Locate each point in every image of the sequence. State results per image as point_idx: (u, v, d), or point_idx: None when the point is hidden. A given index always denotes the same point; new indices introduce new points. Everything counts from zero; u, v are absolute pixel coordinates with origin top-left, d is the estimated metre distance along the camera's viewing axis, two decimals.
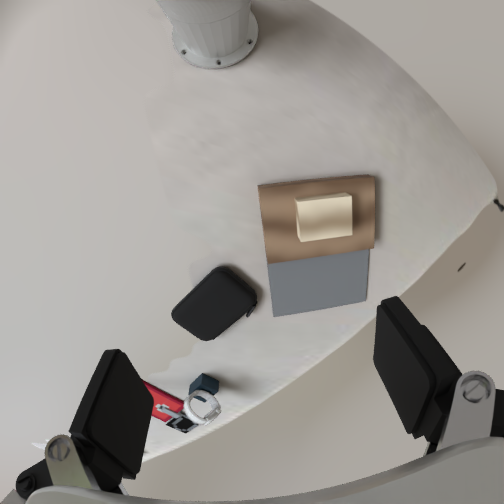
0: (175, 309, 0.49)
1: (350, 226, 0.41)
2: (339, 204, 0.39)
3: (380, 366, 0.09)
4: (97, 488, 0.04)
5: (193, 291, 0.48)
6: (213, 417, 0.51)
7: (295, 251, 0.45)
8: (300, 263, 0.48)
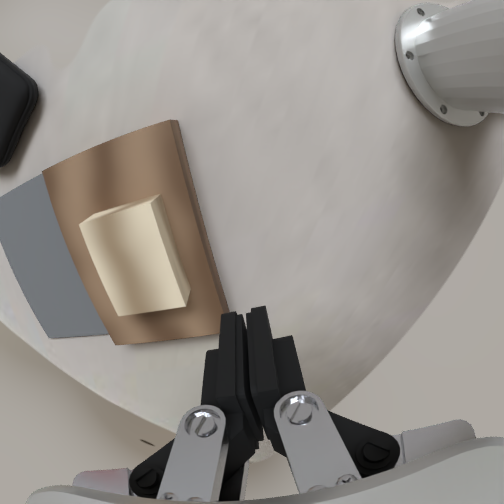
0: None
1: (131, 311, 0.21)
2: (164, 286, 0.20)
3: None
4: (218, 486, 0.05)
5: (5, 62, 0.14)
6: None
7: (69, 215, 0.20)
8: (59, 227, 0.23)
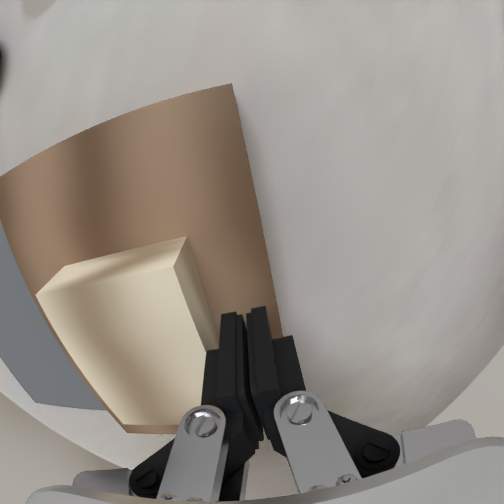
0: None
1: (143, 421, 0.11)
2: (200, 399, 0.11)
3: None
4: (218, 486, 0.05)
5: None
6: None
7: (36, 261, 0.11)
8: None
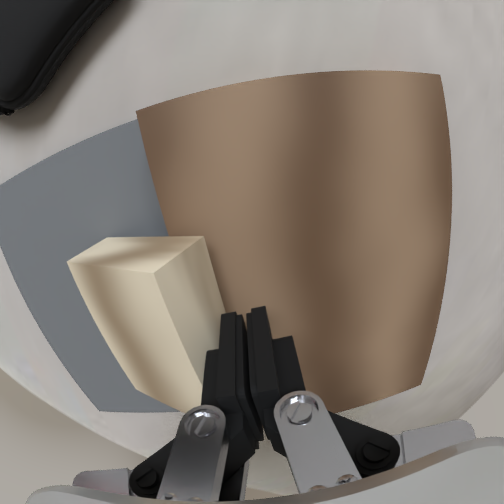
0: None
1: (150, 394, 0.13)
2: (191, 398, 0.11)
3: None
4: (218, 486, 0.05)
5: None
6: None
7: (207, 217, 0.10)
8: None
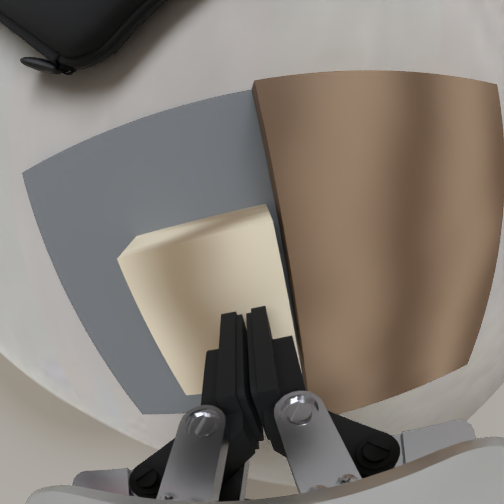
0: None
1: None
2: None
3: None
4: (218, 486, 0.05)
5: None
6: None
7: (322, 195, 0.10)
8: None
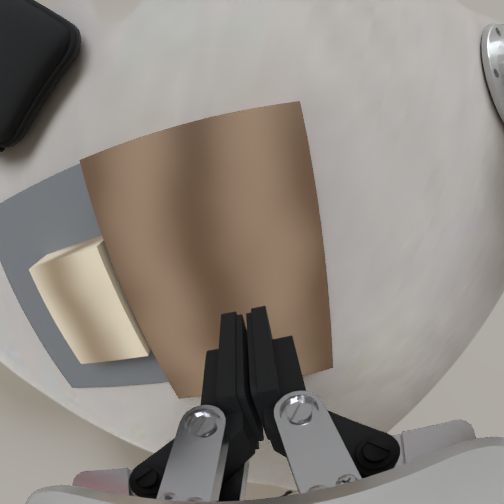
0: None
1: (92, 359, 0.17)
2: (122, 335, 0.17)
3: None
4: (218, 486, 0.05)
5: (35, 3, 0.09)
6: None
7: (125, 228, 0.15)
8: None
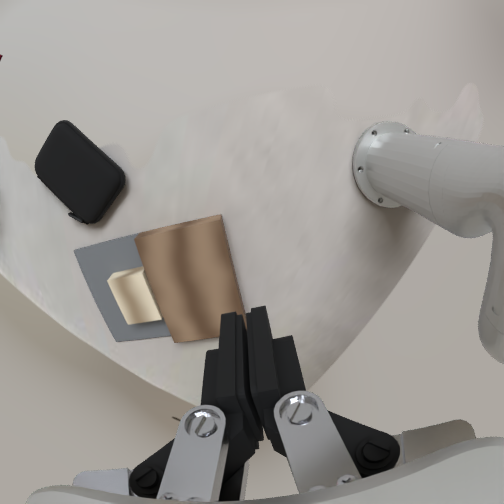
0: (69, 125, 0.30)
1: (134, 322, 0.41)
2: (150, 310, 0.40)
3: None
4: (218, 486, 0.05)
5: (93, 146, 0.32)
6: None
7: (154, 266, 0.38)
8: None
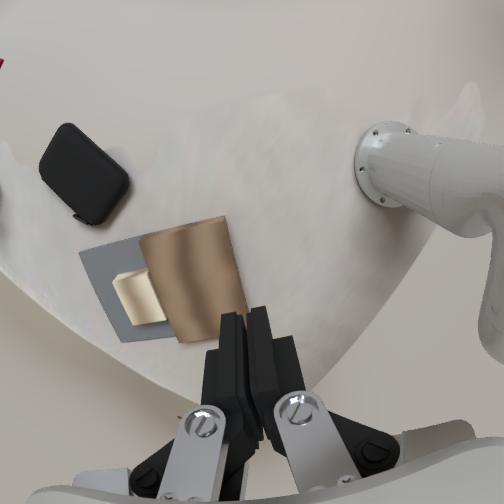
0: (73, 128, 0.31)
1: (139, 322, 0.42)
2: (155, 310, 0.41)
3: None
4: (218, 486, 0.05)
5: (96, 149, 0.32)
6: None
7: (158, 267, 0.39)
8: None
